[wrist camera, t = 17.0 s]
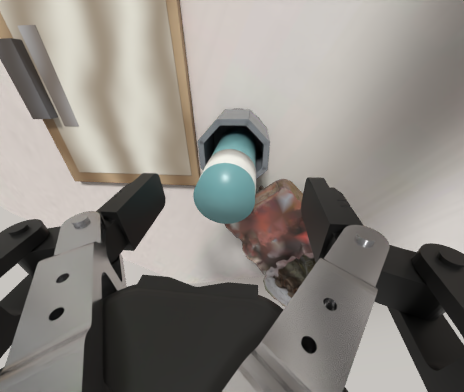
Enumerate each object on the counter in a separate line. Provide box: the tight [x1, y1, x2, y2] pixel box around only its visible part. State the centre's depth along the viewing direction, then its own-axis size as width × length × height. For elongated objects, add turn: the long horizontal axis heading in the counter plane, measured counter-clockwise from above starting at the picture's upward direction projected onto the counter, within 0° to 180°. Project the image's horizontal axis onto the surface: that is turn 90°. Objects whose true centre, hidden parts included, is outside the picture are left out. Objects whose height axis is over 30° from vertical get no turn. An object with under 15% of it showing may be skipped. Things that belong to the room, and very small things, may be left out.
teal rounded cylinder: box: [194, 127, 256, 224], centre depth 17 cm, size 4×4×12 cm
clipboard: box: [0, 0, 200, 185], centre depth 20 cm, size 18×24×2 cm
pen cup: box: [198, 109, 270, 179], centre depth 20 cm, size 6×6×6 cm
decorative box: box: [225, 179, 316, 307], centre depth 24 cm, size 13×20×10 cm, turn 35°
